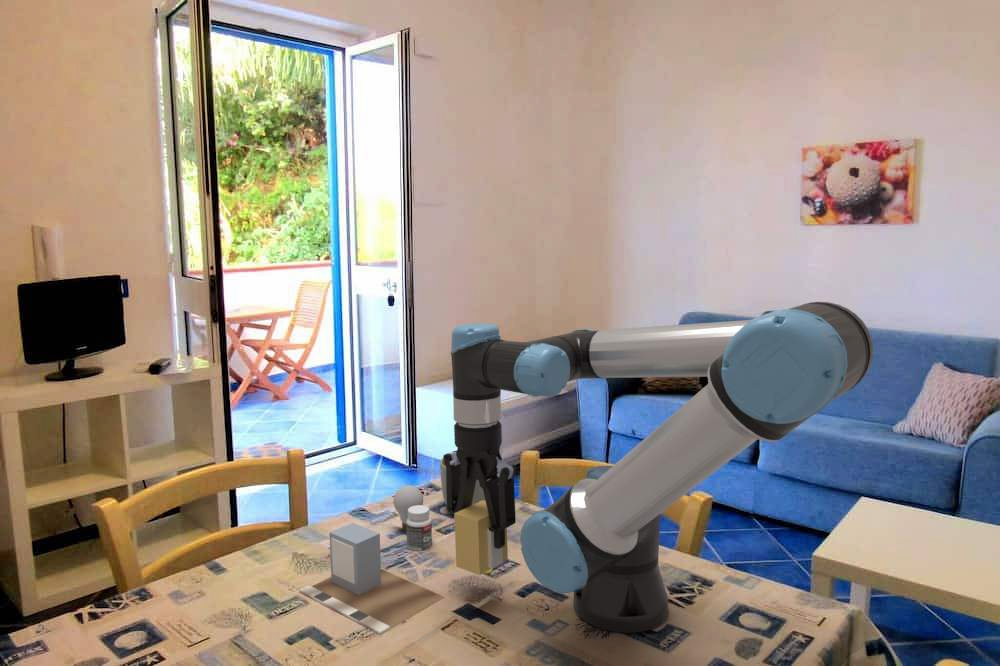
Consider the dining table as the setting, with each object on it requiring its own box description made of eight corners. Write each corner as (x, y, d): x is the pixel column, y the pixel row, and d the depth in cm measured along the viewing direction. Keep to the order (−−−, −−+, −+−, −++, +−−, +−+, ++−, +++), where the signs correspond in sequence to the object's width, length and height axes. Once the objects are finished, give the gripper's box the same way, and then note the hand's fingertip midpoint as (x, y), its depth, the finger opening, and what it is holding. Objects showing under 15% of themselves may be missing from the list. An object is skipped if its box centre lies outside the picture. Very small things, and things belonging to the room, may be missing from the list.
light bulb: (392, 529, 149) (390, 482, 148) (420, 526, 151) (419, 479, 149) (397, 542, 144) (395, 493, 142) (426, 538, 146) (425, 489, 144)
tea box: (507, 559, 121) (506, 506, 120) (479, 575, 116) (477, 520, 114) (483, 550, 124) (482, 499, 123) (455, 566, 119) (453, 513, 118)
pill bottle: (427, 557, 137) (427, 515, 136) (403, 555, 138) (402, 513, 137) (435, 546, 142) (434, 505, 140) (411, 544, 143) (410, 503, 141)
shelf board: (444, 603, 121) (444, 594, 121) (380, 642, 110) (380, 631, 110) (364, 567, 133) (364, 558, 133) (299, 598, 123) (299, 589, 123)
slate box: (354, 571, 130) (352, 522, 128) (381, 583, 125) (379, 533, 124) (330, 582, 126) (328, 532, 124) (357, 595, 121) (355, 544, 120)
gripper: (538, 425, 114) (540, 567, 117) (451, 408, 125) (455, 538, 129) (507, 436, 108) (511, 585, 111) (420, 418, 119) (425, 553, 123)
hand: (481, 560), depth 120 cm, fingers closed on tea box, 5 cm apart
